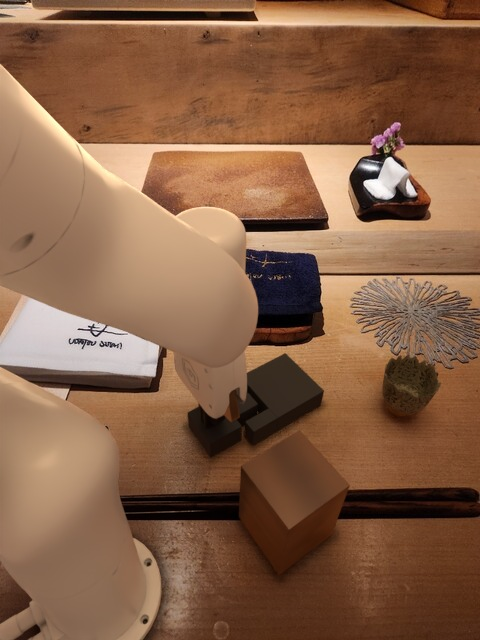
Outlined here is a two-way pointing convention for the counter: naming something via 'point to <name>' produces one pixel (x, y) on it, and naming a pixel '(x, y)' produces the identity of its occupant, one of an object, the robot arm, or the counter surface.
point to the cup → (408, 385)
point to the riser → (290, 500)
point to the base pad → (279, 397)
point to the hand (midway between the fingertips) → (213, 419)
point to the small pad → (222, 428)
